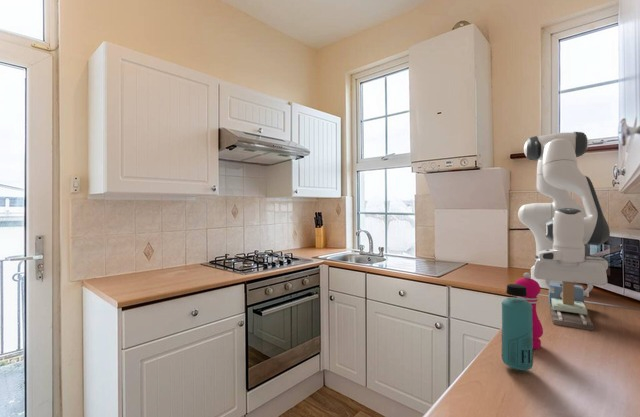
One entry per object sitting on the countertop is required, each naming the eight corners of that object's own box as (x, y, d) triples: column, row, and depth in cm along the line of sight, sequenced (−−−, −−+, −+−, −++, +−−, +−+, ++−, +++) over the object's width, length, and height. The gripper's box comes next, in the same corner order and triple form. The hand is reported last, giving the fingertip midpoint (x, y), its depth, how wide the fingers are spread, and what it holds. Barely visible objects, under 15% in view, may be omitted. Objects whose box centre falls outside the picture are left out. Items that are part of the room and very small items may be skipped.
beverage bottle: (522, 379, 71) (522, 290, 70) (494, 366, 77) (494, 283, 76) (540, 372, 74) (540, 286, 73) (512, 360, 80) (512, 280, 79)
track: (549, 306, 120) (549, 301, 120) (583, 311, 114) (583, 305, 114) (553, 324, 103) (553, 317, 103) (593, 330, 97) (593, 323, 97)
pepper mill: (533, 339, 91) (533, 270, 91) (549, 350, 84) (549, 275, 84) (507, 338, 92) (507, 269, 92) (520, 349, 85) (520, 275, 85)
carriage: (551, 302, 118) (551, 276, 118) (582, 306, 113) (582, 279, 113) (553, 309, 110) (553, 282, 110) (587, 314, 105) (587, 285, 105)
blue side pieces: (548, 302, 125) (548, 282, 124) (581, 307, 119) (581, 285, 119) (549, 307, 119) (549, 285, 119) (584, 311, 114) (584, 289, 114)
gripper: (606, 256, 108) (605, 296, 108) (533, 251, 119) (533, 288, 119) (610, 258, 103) (609, 301, 103) (533, 253, 114) (533, 292, 114)
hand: (568, 294), depth 111 cm, fingers open, 8 cm apart
